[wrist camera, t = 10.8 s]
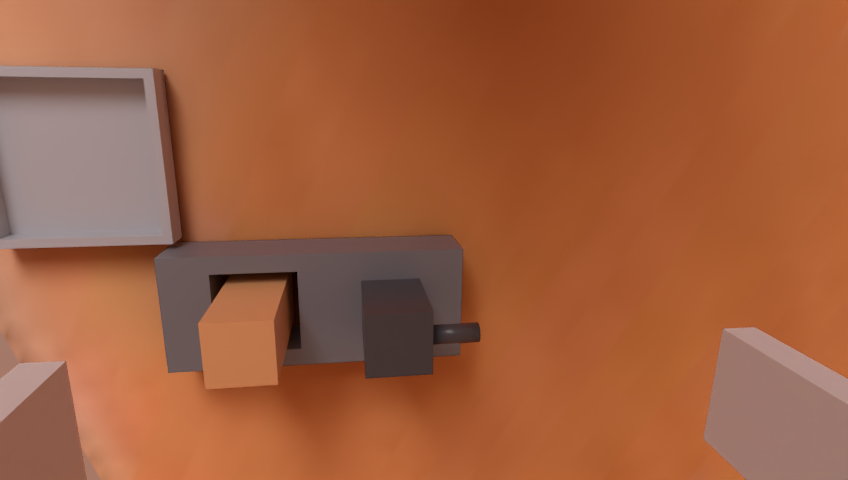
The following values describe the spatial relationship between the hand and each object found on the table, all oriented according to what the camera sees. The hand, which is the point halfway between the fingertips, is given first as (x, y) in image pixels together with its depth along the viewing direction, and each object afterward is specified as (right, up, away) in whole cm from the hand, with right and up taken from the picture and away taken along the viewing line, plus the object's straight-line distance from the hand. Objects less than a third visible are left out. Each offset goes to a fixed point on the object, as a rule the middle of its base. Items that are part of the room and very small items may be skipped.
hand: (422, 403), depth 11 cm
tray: (-23, +9, +24) cm, 34 cm away
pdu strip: (-8, 0, +29) cm, 30 cm away
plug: (-12, -1, +28) cm, 31 cm away
